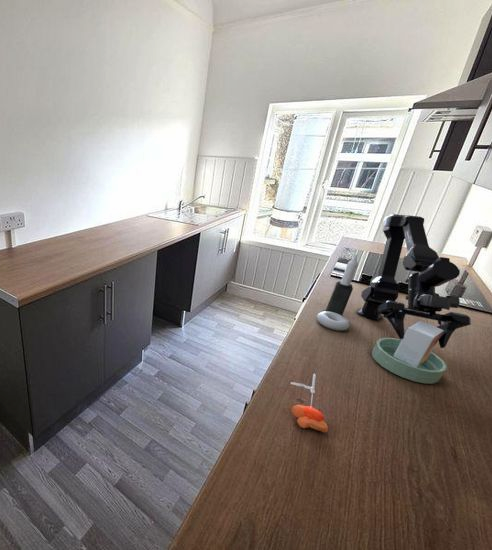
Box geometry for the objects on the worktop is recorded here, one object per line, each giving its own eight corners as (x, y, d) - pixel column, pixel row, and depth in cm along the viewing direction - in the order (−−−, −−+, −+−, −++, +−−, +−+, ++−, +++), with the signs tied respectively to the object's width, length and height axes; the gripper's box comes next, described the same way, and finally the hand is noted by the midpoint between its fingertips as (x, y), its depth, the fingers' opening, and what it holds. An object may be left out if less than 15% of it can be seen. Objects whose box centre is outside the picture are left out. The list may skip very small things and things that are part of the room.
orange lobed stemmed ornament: (288, 400, 73) (302, 362, 69) (331, 427, 67) (349, 387, 62) (277, 412, 70) (290, 373, 65) (320, 442, 63) (339, 400, 58)
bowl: (379, 343, 98) (385, 332, 96) (443, 370, 87) (450, 358, 85) (364, 360, 89) (370, 348, 88) (433, 393, 78) (441, 380, 77)
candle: (340, 320, 111) (366, 257, 101) (325, 315, 113) (348, 254, 103) (340, 314, 115) (364, 254, 105) (325, 310, 117) (347, 251, 107)
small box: (416, 368, 82) (434, 338, 78) (392, 356, 87) (408, 327, 82) (427, 359, 86) (445, 330, 82) (404, 348, 91) (419, 319, 86)
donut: (315, 315, 114) (316, 326, 106) (317, 307, 112) (319, 318, 104) (345, 322, 110) (349, 335, 101) (349, 314, 108) (353, 327, 100)
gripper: (398, 275, 83) (397, 328, 79) (486, 289, 77) (490, 347, 72) (378, 288, 93) (375, 336, 89) (454, 302, 87) (456, 354, 82)
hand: (421, 343), depth 83 cm, fingers closed on small box, 9 cm apart
